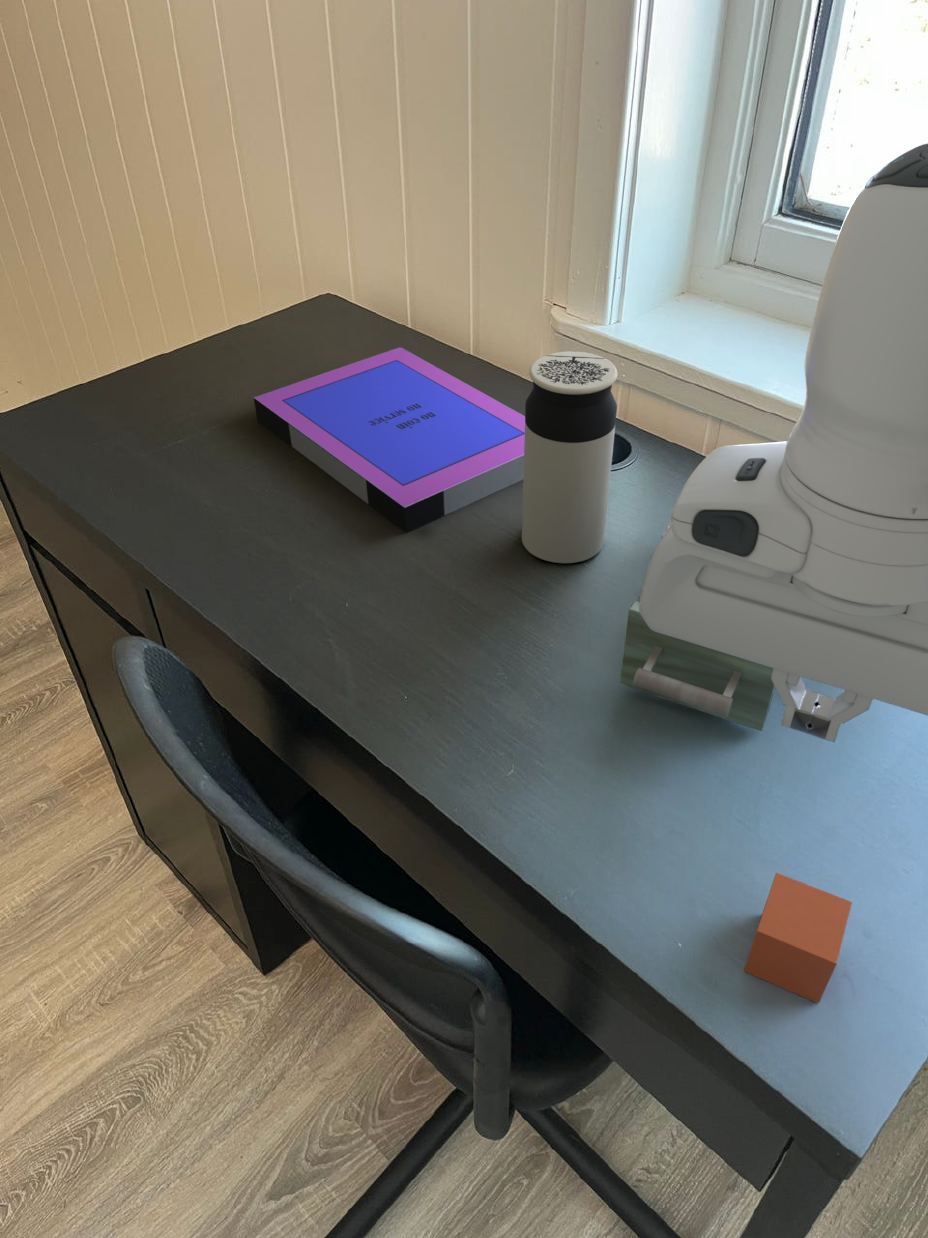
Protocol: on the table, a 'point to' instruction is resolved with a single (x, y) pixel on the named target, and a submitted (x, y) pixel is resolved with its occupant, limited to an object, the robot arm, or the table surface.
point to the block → (798, 937)
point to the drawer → (695, 675)
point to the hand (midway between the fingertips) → (810, 726)
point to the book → (400, 435)
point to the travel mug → (568, 456)
